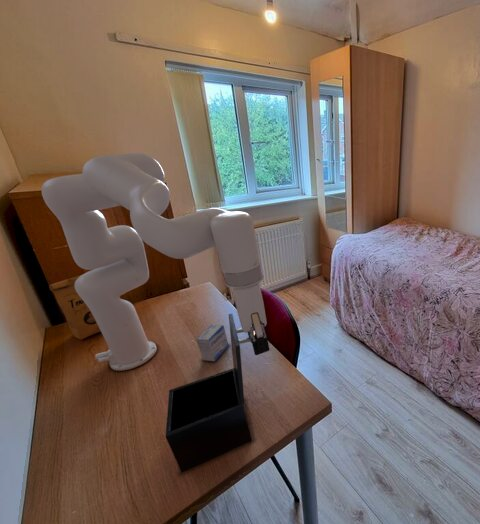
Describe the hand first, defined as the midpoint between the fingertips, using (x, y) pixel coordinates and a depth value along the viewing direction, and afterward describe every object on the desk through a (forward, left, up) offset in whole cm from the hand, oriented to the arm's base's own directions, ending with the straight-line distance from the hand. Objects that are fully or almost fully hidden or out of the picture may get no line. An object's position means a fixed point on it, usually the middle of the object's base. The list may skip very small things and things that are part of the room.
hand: (259, 344), depth 65 cm
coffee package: (-50, +65, -22) cm, 85 cm away
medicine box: (-11, +30, -22) cm, 39 cm away
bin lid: (-6, 0, -2) cm, 6 cm away
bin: (-13, 0, -22) cm, 25 cm away
